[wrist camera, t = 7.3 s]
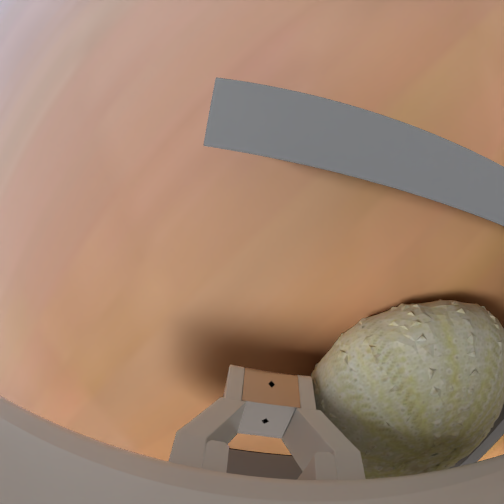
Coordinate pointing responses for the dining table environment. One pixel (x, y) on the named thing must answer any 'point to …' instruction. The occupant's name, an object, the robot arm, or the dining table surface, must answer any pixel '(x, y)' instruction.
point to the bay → (353, 164)
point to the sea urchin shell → (414, 385)
